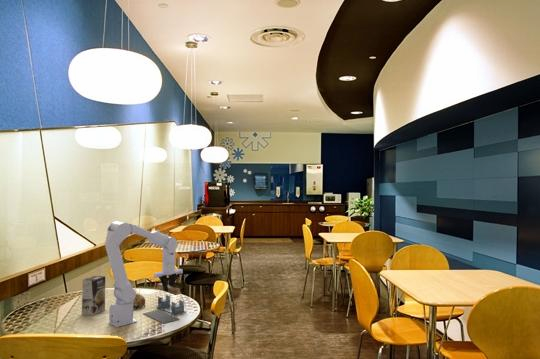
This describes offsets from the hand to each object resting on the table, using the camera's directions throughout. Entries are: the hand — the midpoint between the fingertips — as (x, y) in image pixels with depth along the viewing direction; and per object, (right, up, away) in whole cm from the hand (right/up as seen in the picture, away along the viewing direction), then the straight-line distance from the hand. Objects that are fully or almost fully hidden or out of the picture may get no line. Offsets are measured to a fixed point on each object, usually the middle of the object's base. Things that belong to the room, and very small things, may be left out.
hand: (168, 290), depth 191 cm
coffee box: (-35, -10, -1) cm, 36 cm away
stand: (+1, -10, +3) cm, 10 cm away
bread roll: (-19, -10, +8) cm, 22 cm away
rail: (0, 0, 0) cm, 0 cm away
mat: (-1, -10, -7) cm, 12 cm away
